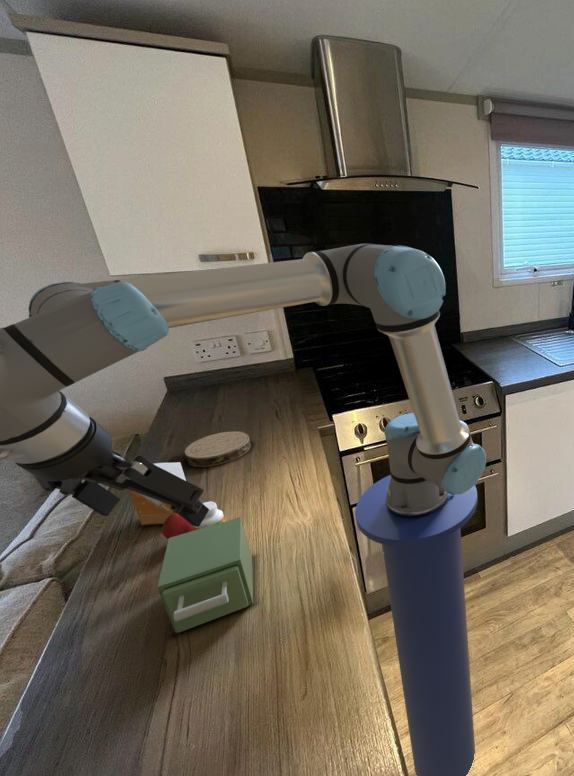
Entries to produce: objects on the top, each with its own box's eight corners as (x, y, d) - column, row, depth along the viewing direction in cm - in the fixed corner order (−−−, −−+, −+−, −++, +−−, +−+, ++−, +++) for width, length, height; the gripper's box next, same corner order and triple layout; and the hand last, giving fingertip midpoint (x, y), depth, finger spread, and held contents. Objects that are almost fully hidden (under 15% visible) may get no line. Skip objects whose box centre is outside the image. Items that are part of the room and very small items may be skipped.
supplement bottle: (219, 552, 94) (208, 515, 91) (194, 552, 94) (182, 515, 91) (235, 535, 99) (225, 499, 96) (212, 535, 99) (201, 499, 96)
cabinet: (253, 603, 82) (240, 559, 78) (175, 633, 76) (157, 587, 72) (252, 557, 93) (241, 516, 89) (183, 580, 87) (168, 537, 83)
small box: (141, 526, 102) (123, 478, 97) (160, 508, 107) (144, 463, 103) (178, 523, 102) (162, 476, 98) (195, 506, 108) (181, 461, 104)
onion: (166, 553, 94) (155, 522, 91) (168, 537, 98) (157, 508, 95) (200, 542, 97) (190, 512, 94) (200, 527, 101) (191, 498, 98)
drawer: (248, 627, 76) (236, 588, 73) (173, 657, 71) (157, 617, 68) (248, 562, 90) (238, 528, 87) (185, 583, 85) (172, 547, 82)
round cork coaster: (198, 473, 122) (195, 464, 121) (179, 454, 131) (176, 446, 130) (259, 450, 134) (257, 441, 133) (238, 434, 143) (236, 426, 142)
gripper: (-92, 453, 48) (53, 527, 64) (139, 480, 48) (225, 546, 64) (-28, 398, 52) (92, 480, 68) (181, 423, 53) (251, 498, 69)
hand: (156, 512), depth 66 cm, fingers open, 13 cm apart
